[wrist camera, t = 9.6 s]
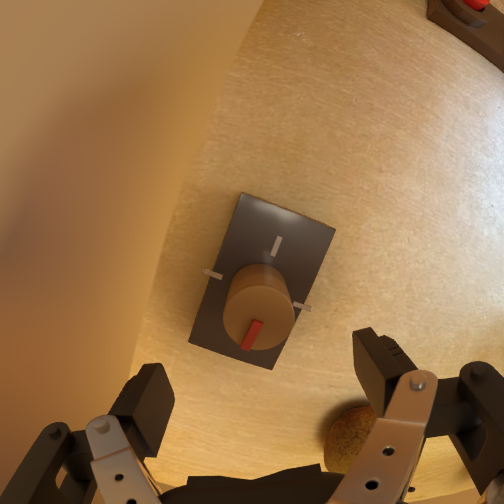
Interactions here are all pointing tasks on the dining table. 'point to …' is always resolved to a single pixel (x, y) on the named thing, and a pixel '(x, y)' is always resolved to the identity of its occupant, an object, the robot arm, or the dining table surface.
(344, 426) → the fruit
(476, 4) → the lamp switch
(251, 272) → the dimmer knob
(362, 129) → the dining table surface
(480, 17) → the lamp base
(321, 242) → the dimmer panel
